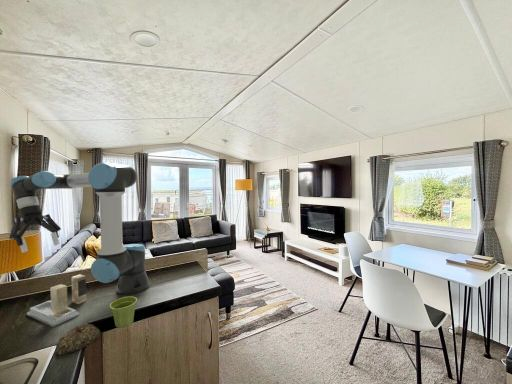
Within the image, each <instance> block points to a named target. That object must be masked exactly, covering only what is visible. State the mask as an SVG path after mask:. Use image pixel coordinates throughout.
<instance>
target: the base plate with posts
mask: <svg viewBox="0 0 512 384" xmlns="http://www.w3.org/2000/svg"><path fill="white" fill-rule="evenodd" d="M26 315H27V316H28V317H31V319H32V318H33V319H34V320H37V321H39V322H41V323H44V324H45V325H48V326H50V327H52V328H54V327H56V326H58V325H61V324H63V323H64V322H67V321H69V320H70V319H73V318H75V317H77V316H79V315H80V311H77V309H74V308H72V307H69V306H68V286H67V285H65V284H62V283H60V284H57V285H54V286H51V287H50V300H46V301H45V302H42V303H40V304H37V305H34V306H32V307H30V308H29V311H27V312H26Z"/></svg>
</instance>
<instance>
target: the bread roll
mask: <svg viewBox="0 0 512 384" xmlns="http://www.w3.org/2000/svg"><path fill="white" fill-rule="evenodd" d="M100 339H101V330H100V329H99V327H97V326H95V324H92V323H83V324H80V325H77V326H75V327H74V328H73V329H71V330H69V331H68V332H67V333H66V334H64V335H63V336H62V337H59V339H58V341H57V343H56V350H55V352H54V353H55V354H56V355H58V356H63V355H67V354H70V353H74V352H76V351H78V350H81V349H83V348H86V347H87V346H90V345H92V344H94V343H96V342H98V341H99V340H100Z"/></svg>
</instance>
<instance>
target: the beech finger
mask: <svg viewBox="0 0 512 384" xmlns="http://www.w3.org/2000/svg"><path fill="white" fill-rule="evenodd" d="M86 279H87V277H86V275H84V274H77V275H74V276H71V300H72V303H73V304H77V305H80V304H82V303H85V302H87V280H86Z"/></svg>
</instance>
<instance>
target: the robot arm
mask: <svg viewBox="0 0 512 384" xmlns="http://www.w3.org/2000/svg"><path fill="white" fill-rule="evenodd" d="M137 173H138V172H136V170H135V168H133V167H132V166H131V165H127V164H120V163H112V162H98V163H97V164H95V165H93V166H92V168H90V170H89V172H82V173H73V174H72V173H67V174H55V173H53V172H50V171H48V170H41V171H39V172H36V173H34V174H32V175H30V176H27V175H19V176H15V177H13V178H11V179H10V185H11V189H12V192H13V195H14V198H15V201H16V205H17V208H18V211H19V214H20V216H17V217H15V218H13V224H12V225H13V226H12V228H11V232H10V233H9V237H8V239H9V240H12V239H13V240H14V241H16V244H17V246H18V247H19V248H20V250H21V253H22V254H23V253H26V252H29V248H28V246H27V242H26V239H25V236H24V237H23V235H25V232H26V231H27V230H28V228H29V227H33V226H41V227H42V228H44V229H45V230H46V231H49V232H50V236H51V240H52V243H53V245H54V247H55V246H58V245H60V244H61V243H60V241H59V238H60V236H59V233H58V232H59V231H61V230H62V229H61V227H60V225H59V224H58V223H57V222H56V221H55V220H53V219H52V217H51V215H50V214H49V213H47V214H45V215H44V214H42V213H43V211H42V208H41V206H40V201H39V198H38V195H37V193H38V192H39V191H42V190H57V189H58V190H59V189H65V190H66V189H67V190H69V189H70V190H71V189H78V188H91V187H92V188H93V189H94V190H95V194H97V195H98V197H99V219H100V221H99V222H100V249H99V250H98V251H97V252H96V254H97V255H96V257H97V258H96V259H95V260H93V263H91V265H90V271H91V275H92V276H93V277H94V279H96V280H97V282H99V283H104V284H107V283H111V282H113V281H116V280H117V279H118V282H117V285H116V293H118V294H121V295H132V294H138V293H140V292H142V291H145V290H146V289H147V288H149V287H150V279H149V277H148V275H147V272H146V248H145V245H144V244H140V243H130V244H129V243H128V244H127V243H126V244H123V242H124V241H123V238H124V236H123V204H122V202H123V201H122V198H123V197H122V196H123V195H124V194H125V193H126V189H127V188H131V187H132V186H134V185H135V183H136V182H137V180H138V175H137ZM22 222H23V225H22V227H21V224H22ZM20 227H21V228H20Z"/></svg>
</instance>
